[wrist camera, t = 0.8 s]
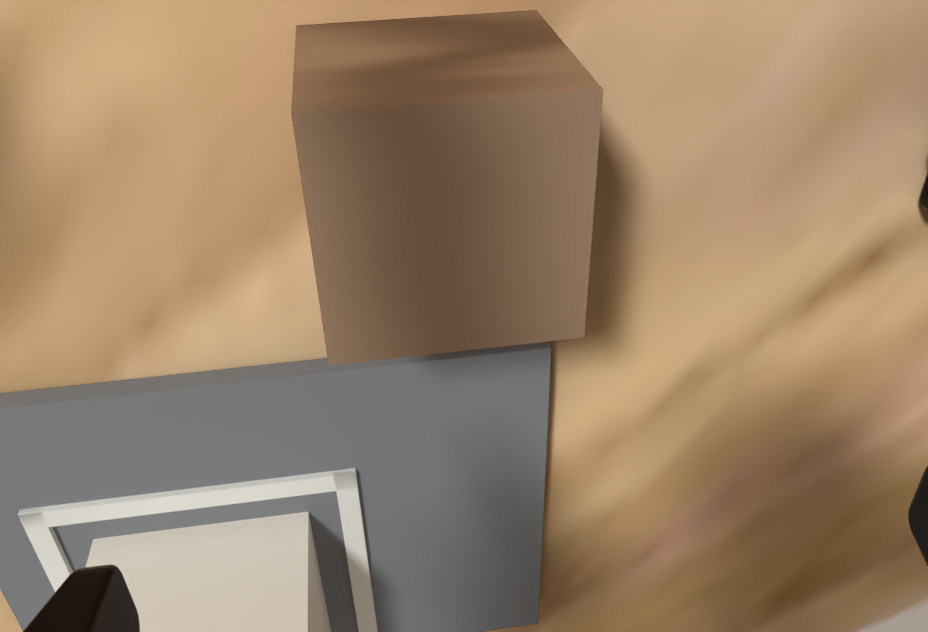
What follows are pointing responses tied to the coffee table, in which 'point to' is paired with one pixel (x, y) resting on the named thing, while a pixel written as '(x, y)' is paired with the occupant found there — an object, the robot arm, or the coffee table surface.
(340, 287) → the walnut cube
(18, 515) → the grey flat rectangular panel
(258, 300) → the coffee table surface
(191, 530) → the base block
